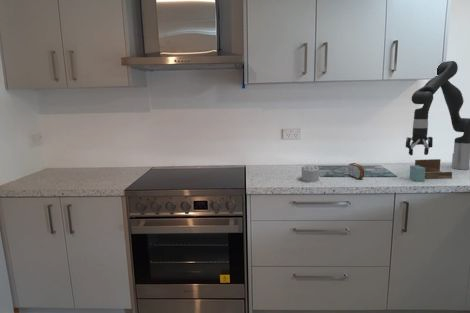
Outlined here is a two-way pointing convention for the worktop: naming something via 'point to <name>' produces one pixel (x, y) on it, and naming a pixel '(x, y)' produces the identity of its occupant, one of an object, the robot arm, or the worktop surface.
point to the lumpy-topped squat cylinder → (310, 173)
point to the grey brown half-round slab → (356, 170)
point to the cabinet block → (417, 173)
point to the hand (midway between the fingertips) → (418, 154)
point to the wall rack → (433, 169)
